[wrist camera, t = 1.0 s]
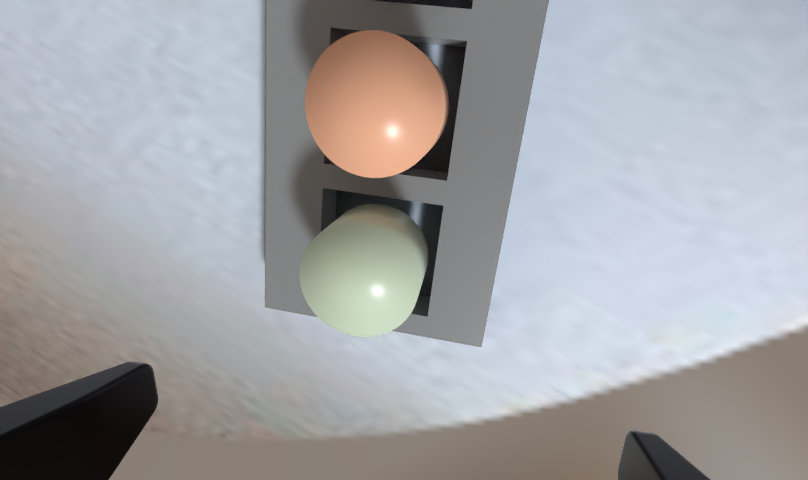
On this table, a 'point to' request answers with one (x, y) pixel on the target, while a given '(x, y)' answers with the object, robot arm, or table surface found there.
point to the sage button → (365, 270)
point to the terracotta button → (375, 103)
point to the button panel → (455, 190)
